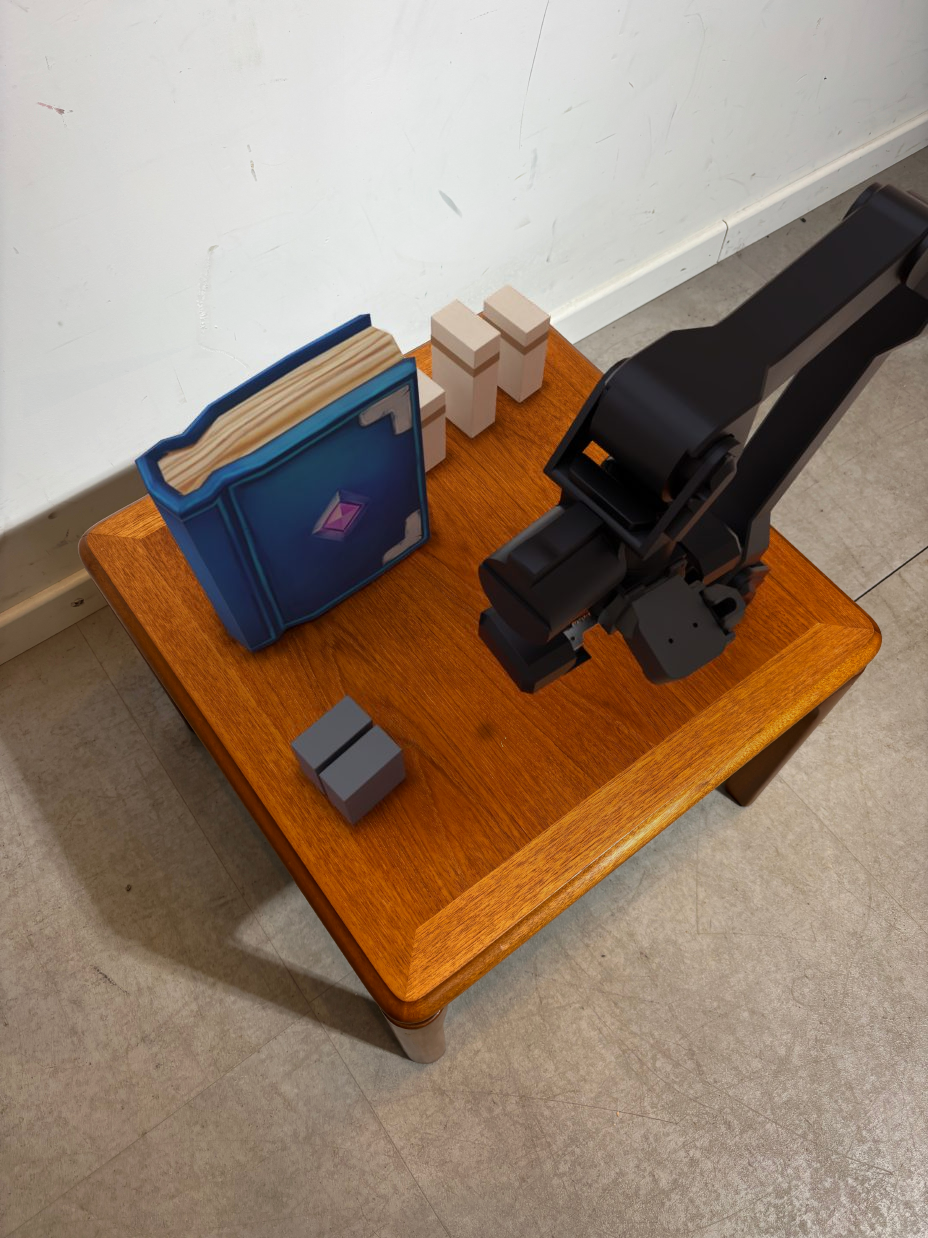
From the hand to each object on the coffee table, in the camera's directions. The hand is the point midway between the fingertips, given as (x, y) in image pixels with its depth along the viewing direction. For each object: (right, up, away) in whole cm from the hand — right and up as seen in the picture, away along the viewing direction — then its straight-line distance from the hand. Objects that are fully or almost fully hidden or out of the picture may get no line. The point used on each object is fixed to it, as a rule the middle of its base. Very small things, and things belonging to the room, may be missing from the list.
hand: (593, 642), depth 69 cm
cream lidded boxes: (-10, +23, +26) cm, 36 cm away
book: (-23, +6, +16) cm, 29 cm away
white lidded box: (-10, +23, +26) cm, 36 cm away
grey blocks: (-19, -11, +7) cm, 24 cm away
